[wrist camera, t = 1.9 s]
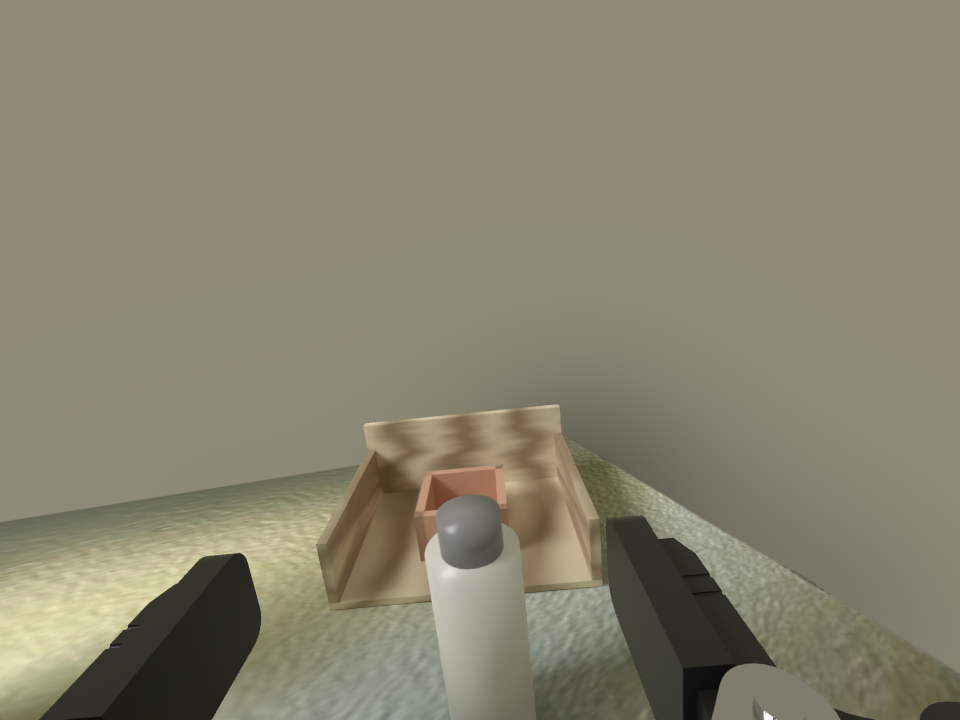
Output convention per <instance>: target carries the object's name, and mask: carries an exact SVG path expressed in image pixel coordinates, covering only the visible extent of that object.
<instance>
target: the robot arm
mask: <svg viewBox="0 0 960 720" xmlns="http://www.w3.org/2000/svg"><path fill="white" fill-rule="evenodd" d="M606 535H607V556H608V577H609V587H610V593H611V598H612V602H613V606H614V609H615V613H616V615H617V618H618V621H619V623H620V626H621V629H622V631H623V634H624V637H625V639H626V642H627V645H628V647H629V650H630V653H631V655H632V658H633V660H634V663H635V666H636V668H637V671H638V674H639V676H640V679H641V682H642V684H643V687H644V690H645V692H646V695H647V698H648V700H649V703H650V706H651V708H652V711H653V714H654V716H655V719H656V720H874V719H869V718H864V717H860V716H856V715H852V714H848V713H845V712H842V711H839V710H837V709H834V708H833V707H832V706H831V705H830V703H829V702H828V701H827V700H826V699H825V698H824V697H823V696H822V695H821V694H820V693H819V692H818V691H817V690H815V689H814V688H813V687H812V686H810V685H809V684H808V683H806V682H805V681H803V680H802V679H800V678H798V677H797V676H795V675H793V674H791V673H789V672H787V671H784V670H782V669H779V668H777V667H776V665H775V664H774V663H773V661H772V660H771V659H770V657H769V656H768V654H767V653H766V652H765V650H764V649H763V647H762V646H761V645H760V643H759V642H758V640H757V639H756V638H755V636H754V635H753V633H752V632H751V631H750V629H749V628H748V626H747V625H746V624H745V622H744V621H743V619H742V618H741V617H740V615H739V614H738V612H737V611H736V610H735V608H734V607H733V605H732V604H731V603H730V601H729V600H728V598H727V597H726V596H725V595H723V594H722V590H721V589H720V587H719V586H718V585H717V583H716V582H715V580H714V579H713V578H712V577H710V574H709V572H708V571H707V569H706V568H705V566H704V565H703V564H702V562H701V561H700V559H699V558H698V557H697V555H696V554H695V553H694V552H693V551H691V550H690V549H688V548H687V547H686V546H684V545H683V544H681V543H680V542H678V541H677V540H676V539H674V538H667V539H658V538H657V536H656V535H655V533H654V532H653V530H652V528H651V527H650V525H649V524H648V522H647V520H646V519H645V518H644V517H643V516H632V517H621V518H611V519H607V522H606ZM260 626H261V611H260V607H259V603H258V599H257V596H256V592H255V588H254V584H253V581H252V577H251V573H250V569H249V566H248V562H247V559H246V558H245V556H244V555H243V554H241V553H235V554H225V555H214V556H205V557H203V558H201V559H200V560H199V561H198V562H197V563H196V564H195V565H194V566H193V567H192V568H191V569H190V570H189V571H188V573H187V574H186V575H185V576H184V577H183V578H182V579H181V580H180V581H179V582H178V584H175V585H173V586H172V587H171V588H169V589H168V590H167V591H165V592H164V593H162V594H161V595H160V596H158V597H157V598H155V599H154V600H153V601H151V602H150V603H149V604H148V605H147V606H146V607H145V608H144V609H143V610H142V611H141V612H140V613H139V614H138V615H137V616H136V617H135V618H134V620H133V621H132V622H131V623H130V624H129V625H128V629H127V630H123V631H122V632H121V633H120V634H119V635H118V637H117V638H116V639H115V640H114V641H113V642H112V643H111V644H110V648H109V649H105V650H104V651H103V652H102V654H101V655H100V656H99V657H98V658H97V659H96V660H95V661H94V662H93V663H92V664H91V665H90V666H89V667H88V668H87V669H86V670H85V672H84V673H83V674H82V675H81V676H80V677H79V678H78V679H77V680H76V681H75V682H74V683H73V684H72V685H71V686H70V687H69V689H68V690H67V691H66V692H65V693H64V694H63V695H62V696H61V697H60V698H59V699H58V700H57V701H56V702H55V703H54V704H53V706H52V707H51V708H50V709H49V710H48V711H47V712H46V713H45V714H44V715H43V716H42V717H41V718H40V719H39V720H212V718H213V716H214V715H215V713H216V711H217V709H218V708H219V706H220V704H221V702H222V701H223V699H224V697H225V695H226V694H227V692H228V690H229V688H230V687H231V685H232V683H233V682H234V680H235V678H236V676H237V675H238V673H239V671H240V669H241V668H242V666H243V664H244V662H245V661H246V659H247V657H248V655H249V654H250V652H251V650H252V648H253V647H254V645H255V643H256V641H257V638H258V635H259V631H260ZM920 720H960V703H959V702H939V703H935V704H932V705H929V706H928V707H927V708H925V709H924V710H923V712H922V714H921V716H920Z"/></svg>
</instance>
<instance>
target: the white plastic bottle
mask: <svg viewBox="0 0 960 720" xmlns="http://www.w3.org/2000/svg"><path fill="white" fill-rule="evenodd" d="M435 518H436V525H437V533H436V534H435V535H434V536H433V537H432V538H431V540H430V541H429V542H428V544H427V546H426V549H425V562H426V569H427V575H428V581H429V588H430V594H431V600H432V607H433V613H434V619H435V626H436V632H437V639H438V645H439V651H440V658H441V664H442V670H443V677H444V683H445V690H446V696H447V702H448V709H449V715H450V720H537V719H536V709H535V699H534V688H533V678H532V667H531V657H530V647H529V636H528V626H527V615H526V605H525V595H524V584H523V574H522V563H521V553H520V543H519V539H518V536H517V535H516V533H515V532H514V531H513V530H512V529H511V528H510V527H509V526H507V525H505V524H503V523H501V514H500V507H499V504H498V503H497V502H496V501H495V500H494V499H492V498H490V497H487V496H484V495H476V494H472V495H463V496H459V497H456V498H453V499H451V500H449V501H447V502H445V503H444V504H443V505H441V506H440V507H439V509H438V510H437V512H436V516H435Z"/></svg>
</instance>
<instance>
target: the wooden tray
mask: <svg viewBox="0 0 960 720" xmlns="http://www.w3.org/2000/svg"><path fill="white" fill-rule="evenodd" d="M560 422H561V421H560V407H559V405H547V406H537V407H527V408H517V409H507V410H498V411H487V412H477V413H466V414H456V415H446V416H436V417H427V418H416V419H406V420H396V421H385V422H375V423H366V424H365V425H364V432H365V437H366V443H367V448H368V452H367V454H366V456H365V458H364V459H363V461H362V463H361V465H360V467H359V468H358V470H357V472H356V474H355V476H354V477H353V479H352V481H351V483H350V485H349V486H348V488H347V490H346V492H345V494H344V495H343V497H342V499H341V501H340V503H339V504H338V506H337V508H336V510H335V512H334V513H333V515H332V517H331V519H330V521H329V522H328V524H327V526H326V528H325V530H324V531H323V533H322V535H321V537H320V539H319V540H318V542H317V544H316V546H317V551H318V555H319V560H320V564H321V569H322V573H323V578H324V582H325V587H326V591H327V596H328V600H329V605H330V609H331V610H337V609H348V608H359V607H371V606H382V605H393V604H405V603H416V602H427V601H432V600H431V594H430V588H429V581H428V575H427V569H426V562H425V549H426V546H427V544H428V542H429V541H430V540H431V538H432V537H433V536H434V535H435V534H436V533H437V525H436V518H435V516H436V512H437V510H438V509H439V507H440V506H441V505H443V504H444V503H445V502H447V501H449V500H451V499H453V498H456V497H459V496H463V495H472V494H476V495H484V496H487V497H490V498H492V499H494V500H495V501H496V502H497V503H498V504H499V507H500V514H501V523H503V524H505V525H507V526H509V527H510V528H511V529H512V530H513V531H514V532H515V533H516V535H517V536H518V539H519V543H520V553H521V563H522V574H523V584H524V593H529V592H540V591H552V590H563V589H574V588H586V587H597V586H603V583H602V560H601V538H600V518H599V516H598V514H597V512H596V509H595V507H594V505H593V503H592V500H591V498H590V496H589V494H588V491H587V489H586V487H585V485H584V482H583V480H582V478H581V476H580V473H579V471H578V469H577V467H576V464H575V462H574V460H573V458H572V455H571V453H570V451H569V449H568V446H567V444H566V442H565V440H564V437H563V435H562V433H561V423H560Z"/></svg>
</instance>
